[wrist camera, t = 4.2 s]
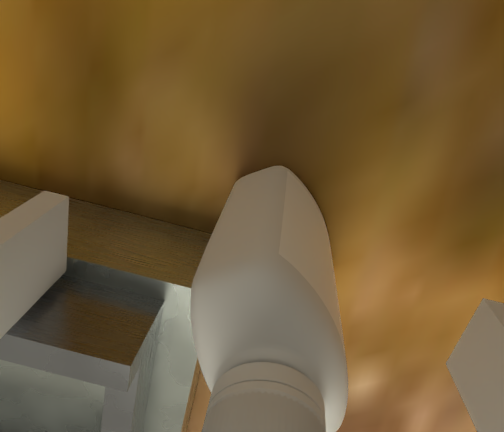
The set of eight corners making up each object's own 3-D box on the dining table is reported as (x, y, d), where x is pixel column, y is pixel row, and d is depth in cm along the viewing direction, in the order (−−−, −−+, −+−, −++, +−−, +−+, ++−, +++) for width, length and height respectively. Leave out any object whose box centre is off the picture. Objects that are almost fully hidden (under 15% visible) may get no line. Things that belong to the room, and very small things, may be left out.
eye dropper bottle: (352, 172, 15) (480, 512, 4) (323, 294, 18) (359, 716, 7) (238, 155, 15) (87, 436, 5) (224, 278, 18) (101, 660, 7)
